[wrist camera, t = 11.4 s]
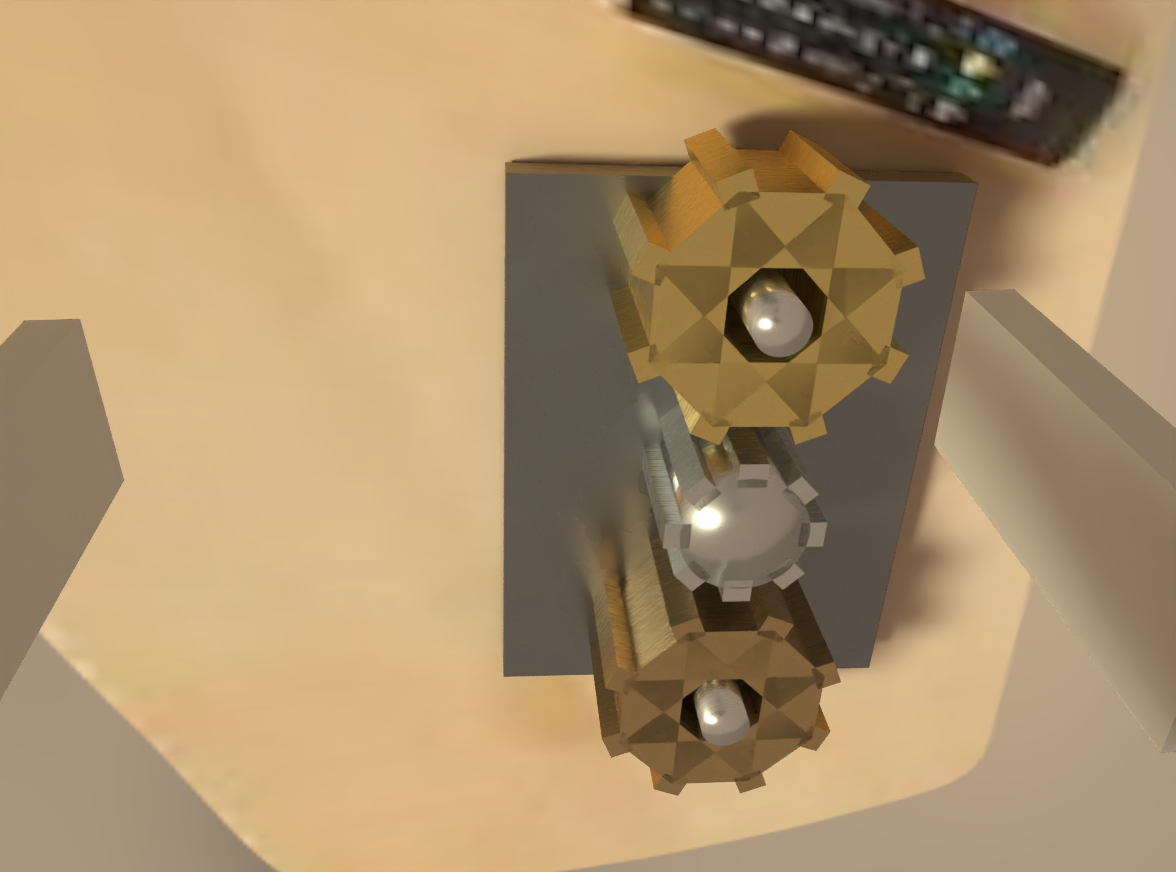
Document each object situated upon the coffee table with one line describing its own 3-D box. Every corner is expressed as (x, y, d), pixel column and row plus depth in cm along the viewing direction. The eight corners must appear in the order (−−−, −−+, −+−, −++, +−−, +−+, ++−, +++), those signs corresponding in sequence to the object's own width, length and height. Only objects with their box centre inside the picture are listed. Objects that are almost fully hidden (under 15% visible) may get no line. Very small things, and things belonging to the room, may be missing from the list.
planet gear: (618, 125, 37) (640, 165, 31) (883, 132, 38) (947, 172, 32) (604, 374, 41) (621, 445, 36) (840, 374, 42) (890, 444, 37)
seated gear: (596, 533, 45) (609, 619, 40) (813, 530, 46) (854, 614, 41) (586, 701, 50) (598, 798, 44) (783, 696, 51) (818, 790, 45)
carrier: (505, 162, 38) (508, 229, 31) (961, 172, 40) (1069, 239, 33) (503, 654, 50) (505, 791, 42) (858, 646, 52) (921, 776, 44)
